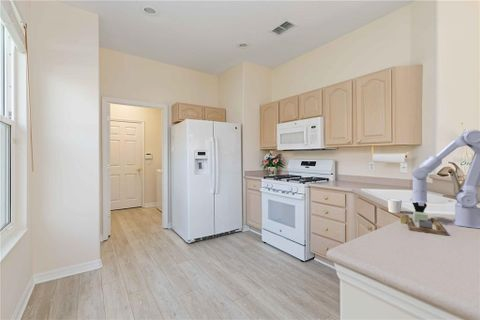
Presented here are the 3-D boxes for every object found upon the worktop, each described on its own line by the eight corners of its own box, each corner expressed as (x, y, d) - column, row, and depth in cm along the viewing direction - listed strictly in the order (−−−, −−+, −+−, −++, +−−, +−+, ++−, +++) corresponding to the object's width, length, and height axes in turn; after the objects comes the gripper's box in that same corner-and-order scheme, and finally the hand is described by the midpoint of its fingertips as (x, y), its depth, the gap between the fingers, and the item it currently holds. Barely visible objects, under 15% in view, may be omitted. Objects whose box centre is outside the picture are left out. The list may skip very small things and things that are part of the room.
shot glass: (404, 213, 126) (404, 201, 126) (392, 213, 127) (392, 201, 126) (396, 210, 133) (396, 198, 133) (384, 210, 133) (384, 198, 133)
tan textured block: (405, 221, 111) (405, 213, 111) (405, 223, 108) (405, 215, 108) (400, 221, 112) (400, 213, 112) (400, 222, 109) (400, 214, 109)
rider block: (425, 220, 113) (425, 212, 113) (427, 223, 108) (427, 215, 108) (413, 219, 115) (413, 211, 115) (414, 221, 111) (414, 213, 111)
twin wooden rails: (434, 220, 112) (434, 218, 112) (445, 235, 92) (446, 231, 92) (404, 217, 118) (404, 214, 118) (409, 230, 99) (409, 226, 99)
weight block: (430, 229, 99) (430, 220, 99) (432, 232, 96) (432, 223, 96) (419, 228, 101) (419, 219, 101) (420, 230, 98) (420, 221, 98)
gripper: (408, 188, 123) (408, 213, 123) (411, 192, 111) (410, 219, 111) (425, 189, 119) (424, 214, 120) (429, 193, 107) (429, 221, 107)
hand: (419, 217), depth 115 cm, fingers closed
